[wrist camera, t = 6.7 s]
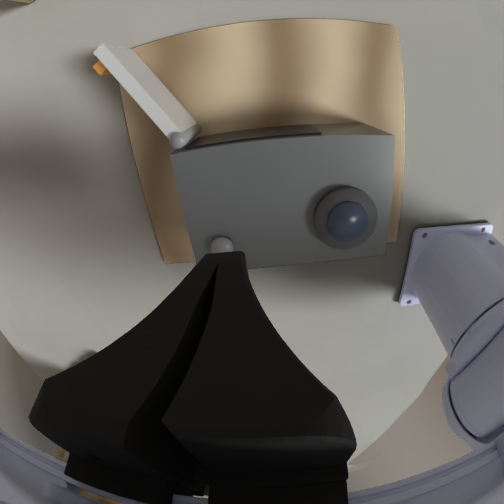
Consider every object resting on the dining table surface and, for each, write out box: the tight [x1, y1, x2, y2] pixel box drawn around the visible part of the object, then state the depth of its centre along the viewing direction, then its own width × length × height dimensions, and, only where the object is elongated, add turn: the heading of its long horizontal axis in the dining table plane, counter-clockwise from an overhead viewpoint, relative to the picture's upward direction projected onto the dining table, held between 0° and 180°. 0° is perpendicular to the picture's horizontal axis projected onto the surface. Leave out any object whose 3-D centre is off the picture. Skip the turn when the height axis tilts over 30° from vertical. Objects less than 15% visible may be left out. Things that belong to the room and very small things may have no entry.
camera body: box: [170, 123, 395, 269], centre depth 16 cm, size 11×7×5 cm, turn 97°
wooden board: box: [119, 19, 405, 264], centre depth 17 cm, size 18×16×1 cm
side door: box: [93, 43, 201, 149], centre depth 13 cm, size 7×2×4 cm, turn 37°
